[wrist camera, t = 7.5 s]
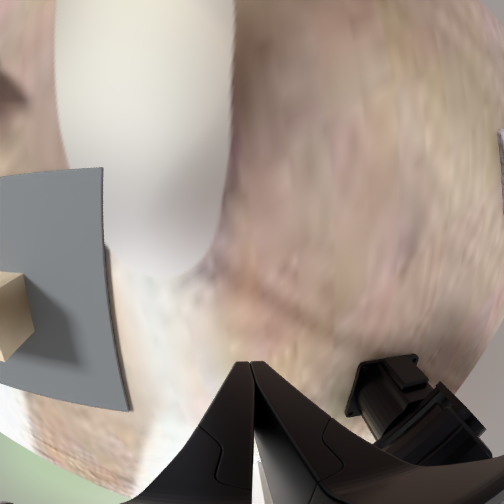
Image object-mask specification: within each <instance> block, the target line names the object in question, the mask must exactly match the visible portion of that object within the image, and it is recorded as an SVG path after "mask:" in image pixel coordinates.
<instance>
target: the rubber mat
mask: <svg viewBox="0 0 504 504" xmlns="http://www.w3.org/2000/svg"><path fill="white" fill-rule="evenodd" d="M0 271H1V272H12V273H23V276H24V282H25V288H26V293H27V298H28V303H29V308H30V313H31V317H32V322H33V326H34V330H35V331H34V332H33V333H32V334H31V335H30V336H29V338H28V339H27V340H26V341H25V342H24V343H23V344H22V345H21V346H20V347H19V348H18V349H17V350H16V351H15V352H14V353H13V354H12V355H11V356H10V357H9V358H8V360H7V361H6V362H3V361H0V383H1V384H4V385H7V386H10V387H13V388H16V389H20V390H23V391H27V392H30V393H34V394H37V395H41V396H45V397H49V398H53V399H57V400H62V401H66V402H71V403H76V404H81V405H86V406H91V407H97V408H103V409H109V410H116V411H123V412H129V406H128V402H127V398H126V394H125V390H124V385H123V381H122V376H121V371H120V366H119V361H118V356H117V351H116V345H115V339H114V333H113V326H112V320H111V312H110V305H109V296H108V287H107V277H106V265H105V250H104V230H103V168H102V167H100V168H83V169H69V170H56V171H46V172H36V173H27V174H18V175H10V176H3V177H0Z"/></svg>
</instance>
